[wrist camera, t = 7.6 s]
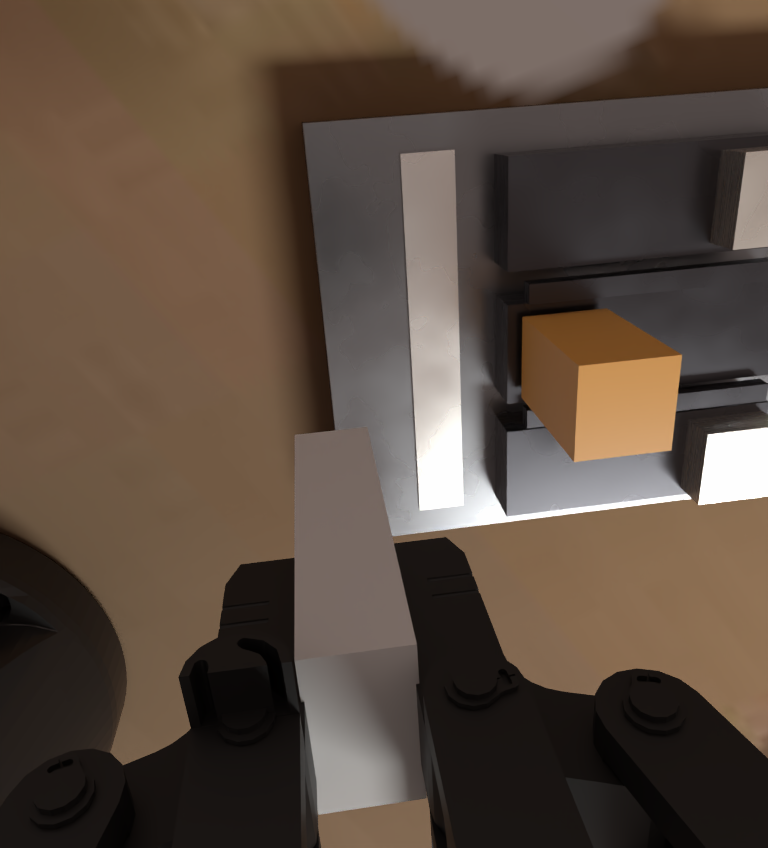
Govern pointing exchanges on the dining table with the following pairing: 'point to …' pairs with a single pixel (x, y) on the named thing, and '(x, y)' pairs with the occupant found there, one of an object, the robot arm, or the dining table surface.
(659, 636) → the dining table surface
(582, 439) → the block
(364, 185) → the panel
